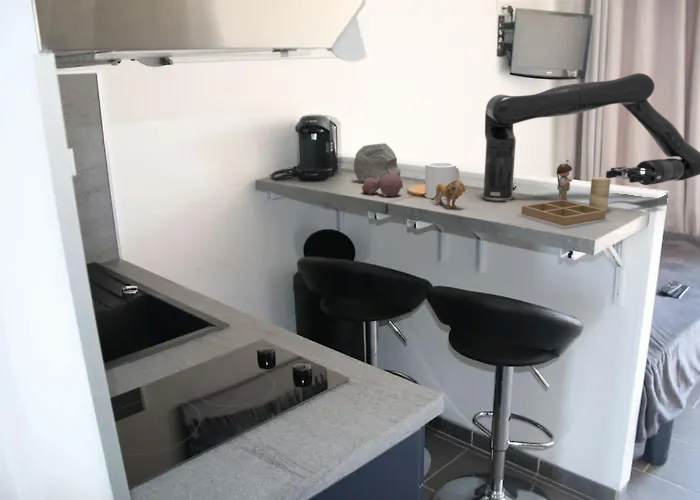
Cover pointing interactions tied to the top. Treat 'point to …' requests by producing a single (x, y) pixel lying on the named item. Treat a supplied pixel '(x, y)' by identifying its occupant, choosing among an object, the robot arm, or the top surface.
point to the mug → (439, 176)
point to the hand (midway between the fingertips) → (618, 176)
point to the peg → (599, 192)
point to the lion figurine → (449, 192)
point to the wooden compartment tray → (563, 212)
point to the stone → (375, 162)
